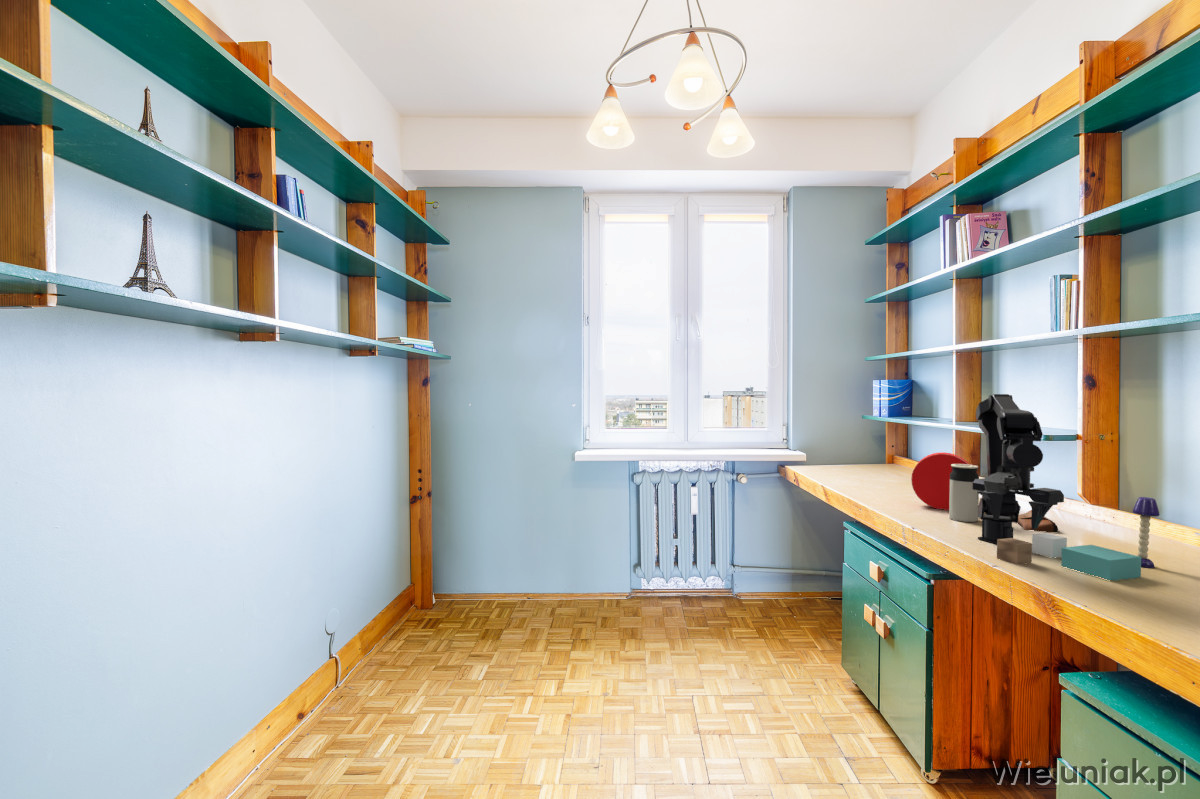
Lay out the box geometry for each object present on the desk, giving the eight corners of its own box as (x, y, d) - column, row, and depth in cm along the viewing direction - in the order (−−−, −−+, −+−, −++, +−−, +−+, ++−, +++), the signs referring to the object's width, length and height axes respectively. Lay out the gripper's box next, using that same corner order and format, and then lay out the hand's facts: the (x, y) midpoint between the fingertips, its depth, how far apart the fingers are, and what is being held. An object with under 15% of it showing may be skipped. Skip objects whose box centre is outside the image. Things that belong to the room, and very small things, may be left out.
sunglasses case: (1006, 517, 182) (1019, 501, 181) (1028, 529, 180) (1041, 513, 179) (1024, 530, 166) (1038, 512, 164) (1048, 544, 163) (1063, 526, 162)
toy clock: (976, 510, 193) (977, 454, 192) (977, 513, 188) (978, 456, 188) (912, 503, 204) (912, 450, 204) (910, 506, 199) (911, 452, 199)
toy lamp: (1145, 562, 135) (1147, 496, 135) (1163, 568, 130) (1165, 499, 130) (1125, 562, 135) (1126, 495, 135) (1142, 568, 131) (1144, 499, 130)
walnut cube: (996, 558, 138) (997, 539, 138) (1011, 557, 139) (1011, 537, 139) (1017, 565, 133) (1017, 544, 133) (1031, 563, 135) (1032, 543, 134)
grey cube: (1031, 553, 143) (1032, 534, 143) (1045, 551, 144) (1045, 532, 144) (1052, 558, 138) (1053, 539, 138) (1066, 557, 140) (1066, 537, 140)
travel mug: (946, 519, 179) (947, 465, 179) (952, 515, 185) (953, 463, 184) (974, 523, 173) (975, 467, 173) (980, 519, 179) (981, 465, 178)
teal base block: (1061, 568, 132) (1061, 547, 131) (1091, 564, 134) (1091, 544, 134) (1109, 582, 122) (1109, 560, 122) (1140, 578, 125) (1141, 556, 124)
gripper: (957, 458, 142) (955, 517, 143) (1032, 469, 124) (1031, 536, 125) (988, 457, 146) (987, 515, 146) (1066, 467, 128) (1064, 532, 128)
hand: (1014, 524), depth 136 cm, fingers open, 9 cm apart
